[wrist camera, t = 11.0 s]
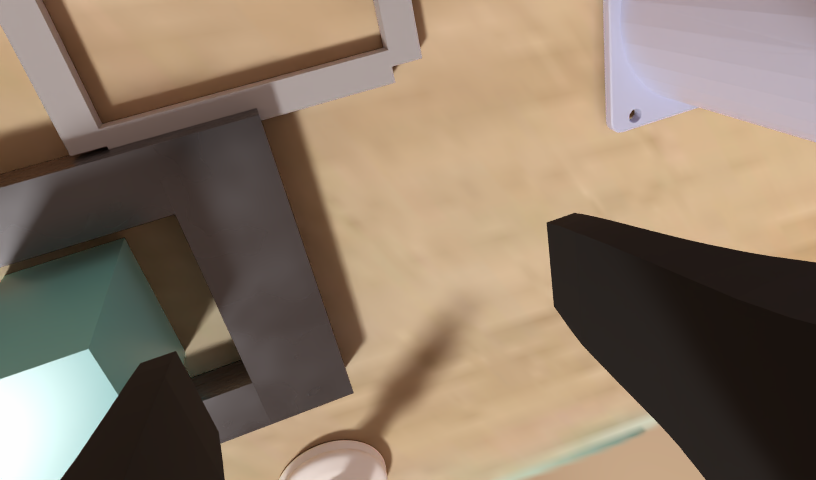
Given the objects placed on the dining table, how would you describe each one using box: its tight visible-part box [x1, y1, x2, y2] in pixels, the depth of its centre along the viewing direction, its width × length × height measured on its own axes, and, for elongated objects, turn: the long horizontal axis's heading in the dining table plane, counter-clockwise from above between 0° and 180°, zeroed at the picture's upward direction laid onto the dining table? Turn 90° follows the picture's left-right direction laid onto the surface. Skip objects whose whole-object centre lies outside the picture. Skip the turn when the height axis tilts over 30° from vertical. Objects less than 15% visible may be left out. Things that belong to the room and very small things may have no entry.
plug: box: [0, 238, 185, 480], centre depth 16 cm, size 4×5×6 cm
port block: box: [0, 108, 353, 443], centre depth 18 cm, size 14×11×2 cm
